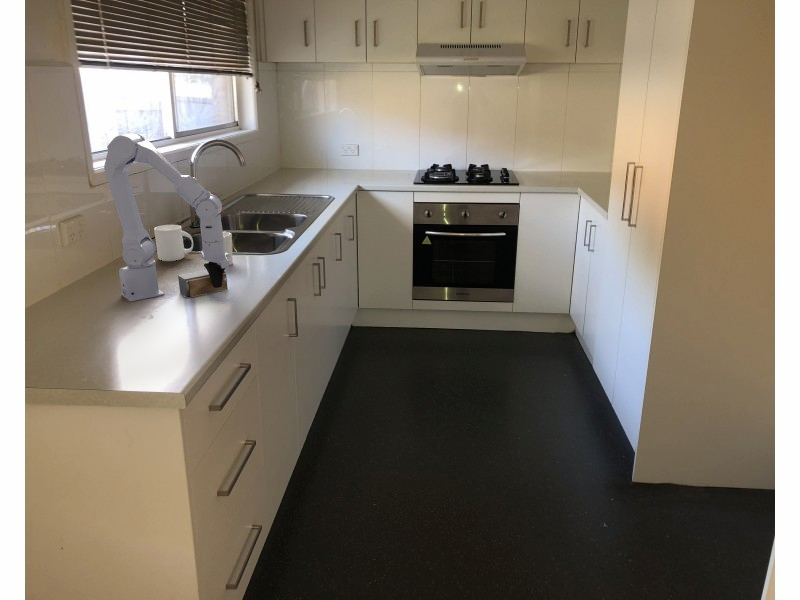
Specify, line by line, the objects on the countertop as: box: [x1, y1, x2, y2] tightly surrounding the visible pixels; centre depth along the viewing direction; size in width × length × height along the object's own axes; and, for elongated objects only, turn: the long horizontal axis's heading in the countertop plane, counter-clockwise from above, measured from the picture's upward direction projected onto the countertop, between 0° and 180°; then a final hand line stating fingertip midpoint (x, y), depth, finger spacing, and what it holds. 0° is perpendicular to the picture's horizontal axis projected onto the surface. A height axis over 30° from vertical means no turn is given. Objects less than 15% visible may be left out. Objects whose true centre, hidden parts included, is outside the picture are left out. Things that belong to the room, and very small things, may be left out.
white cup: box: [223, 231, 234, 266], centre depth 208 cm, size 8×8×10 cm
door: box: [185, 273, 229, 299], centre depth 179 cm, size 12×2×5 cm, turn 129°
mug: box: [153, 224, 194, 262], centre depth 215 cm, size 9×12×11 cm
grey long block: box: [177, 269, 227, 298], centre depth 182 cm, size 12×5×5 cm, turn 129°
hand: (217, 287), depth 180 cm, fingers closed
